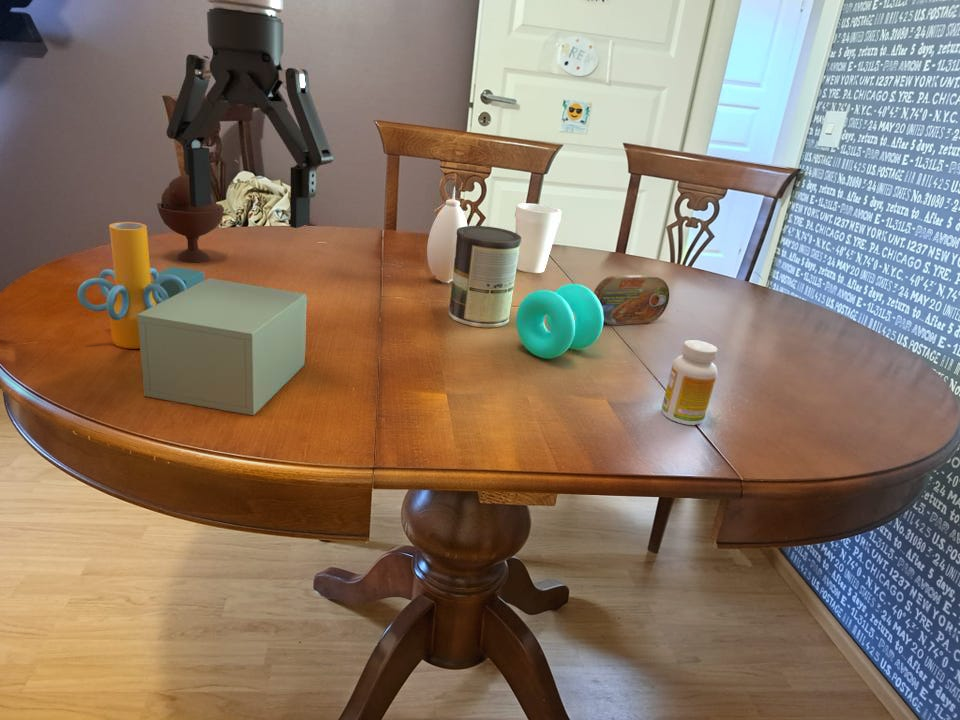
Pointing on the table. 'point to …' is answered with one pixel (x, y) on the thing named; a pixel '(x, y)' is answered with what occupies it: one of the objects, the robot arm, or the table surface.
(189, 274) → the teal cube
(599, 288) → the tin
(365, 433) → the table surface
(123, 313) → the cylinder
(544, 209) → the foam cup
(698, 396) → the supplement bottle
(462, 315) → the coffee can
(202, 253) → the ice cream bowl
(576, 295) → the donuts
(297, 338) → the green box
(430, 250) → the sauce bottle
